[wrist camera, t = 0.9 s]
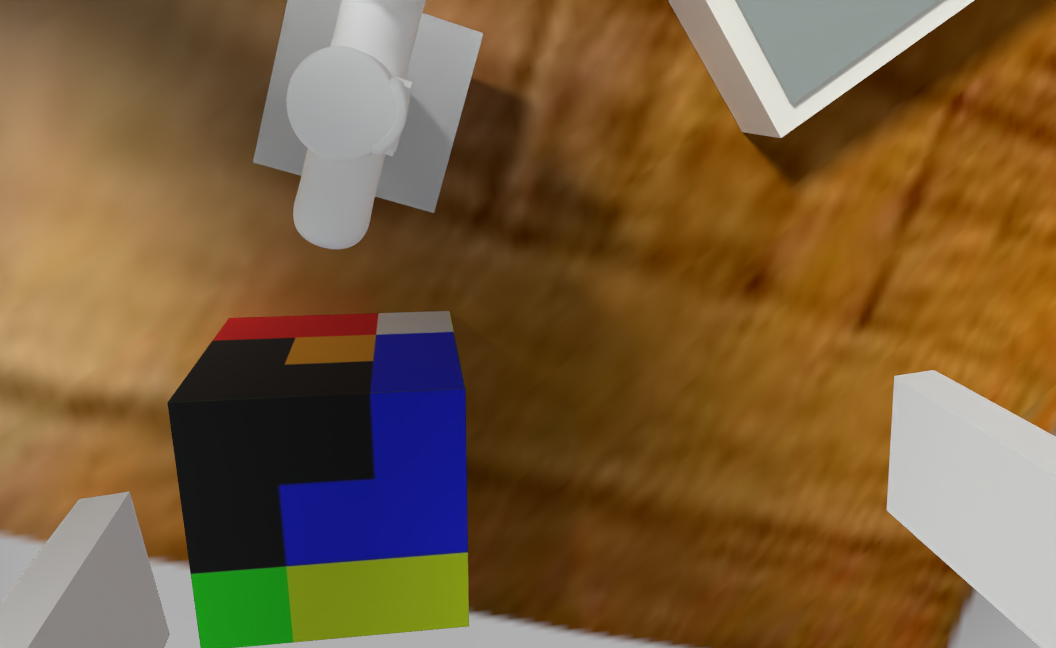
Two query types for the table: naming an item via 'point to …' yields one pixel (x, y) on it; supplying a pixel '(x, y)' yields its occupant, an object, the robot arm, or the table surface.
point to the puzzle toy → (324, 478)
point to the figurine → (363, 109)
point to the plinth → (800, 50)
